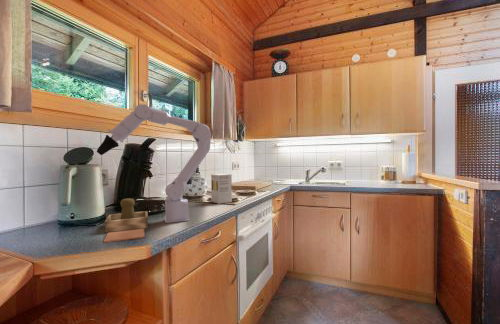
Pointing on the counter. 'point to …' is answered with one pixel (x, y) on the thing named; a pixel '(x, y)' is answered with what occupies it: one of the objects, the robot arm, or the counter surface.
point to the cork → (127, 208)
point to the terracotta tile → (124, 235)
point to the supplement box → (221, 188)
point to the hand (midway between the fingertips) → (99, 152)
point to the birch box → (126, 222)
